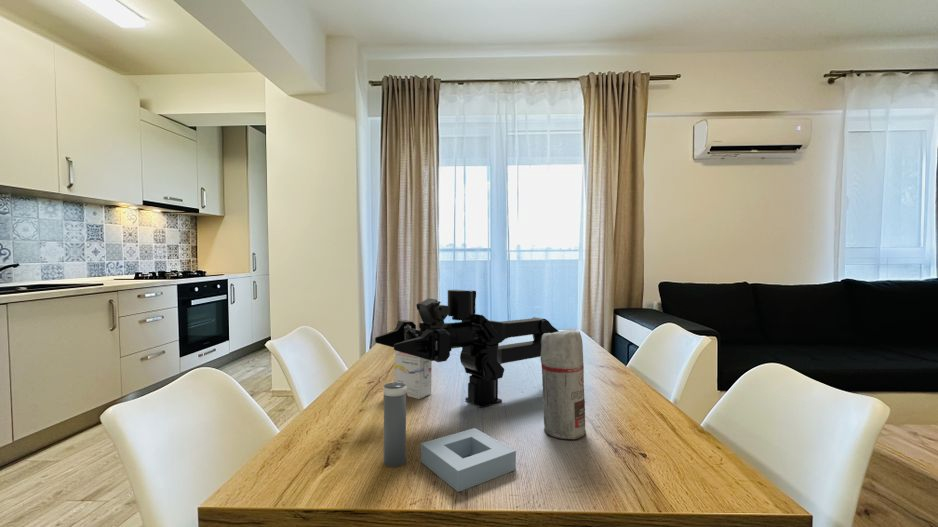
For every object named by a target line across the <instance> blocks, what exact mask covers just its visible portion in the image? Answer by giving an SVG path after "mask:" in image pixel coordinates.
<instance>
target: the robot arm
mask: <svg viewBox="0 0 938 527" xmlns="http://www.w3.org/2000/svg"><path fill="white" fill-rule="evenodd" d="M476 298H477V291H476V290H467V289H466V290H464V289H463V290H462V289H448V290H447V305H446V304H445V305H444V304H442V303H441V301H439V300H438V299H436V298H430V297H429V298H427V299H424V300H423V301H420V302H418V303H416V310H418V313H419V316H420V319H421V322H418V327H419V329H417V325H416V324H415V322H414V321H411V320H407V319H404V320H398V321H397V324H396V326H395V328H394V329H393V330H391V331H387V332H386V333H384V334H381V335H378V336H376V337H374V342H375V343H376V344H379V345H382V346H386V347H391V348H393V351H395V350H396V351H399V352H403V353H406V354H410V355H413V356H417V357H420V358H424V359H427V360H430V361H431V362H436V363H442V362H447V361H448V359H449V357H450V356H451V352H452V350H453V349H460V348H461V351H460V355H459V358H460V361H459V362H460V363H461V366H463V369H464V371H465V374H469V378H468V379H469V382H468V383H467V397H465V399H464V400H465V401H467V402H469V403H471V404H473V405H475V406H477V407H479V408H484V407H488V406H492V405H496V404H499V403H501V404H502V403H503V399H501V398H499V387H498V385H499V380H500V379H502V378H503V376H504V372H505V368H504V367H503V366H502V364H508V363H514V362H518V361H524V360H529V359H535V358H540V357H541V343H542V336H543V334H544V333H554V332H558V331H559V330H558V329H557V328H556V327H554V326H553V325H552V323H551V322H550V321H549V320H548V319H546V318H543V317H542V318H541V317H535V316H534V317H532V318H524V319H523V318H522V319H513V320H512V319H511V320H503V321H498V320H497V321H496V320H491V319H490V320H489V319H487V318H486V317H485V316H484V315H483V314H479V313H478V314H477V313H476ZM447 317H451V320H453V321H455V322H445V320H446V319H447ZM456 321H457V322H456ZM531 335H532V339H533V340H530V341H523V342H516V343H509V344H502V345H499V344H500V343H502V342H504V340H506V339H510V338H515V337H516V338H517V337H524V336H525V337H526V336H531Z"/></svg>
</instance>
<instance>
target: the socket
mask: <svg viewBox="0 0 938 527" xmlns="http://www.w3.org/2000/svg"><path fill="white" fill-rule="evenodd" d="M420 463H422V464H423V465H424V466H426V467H427V468H428V469H429V470H431V471H432V472H433V473H434V474H435V475H437V476H438V477H439V478H440V479H441V480H443V481H444V482H445V483H446V484H448V486H450V487H451V488H453V489H454V490H455V492H457V493H460V492H463V491H465V490H467V489H471V488H472V487H474V486H477V485H480V484H483V483H486V482H488V481H491V480H492V479H493V480H494V479H495V478H499V477H500V476H503V475H506V474H508V473H512V472H513V471H516V469H517V467H516V466H517V451H516V449H514V448H512V447H510V446H508V445H506V444H505V443H503V442H501V441H499V440H497V439H496V438H494V437H492V436H489V435H488V434H486V433H484V431H483V432H482V431H480V430H479V429H477V428H475V427H473V428H470V429H466V430H464V431H460V432H455V433H453V434H448V435H446V436H442V437H439V438H434V439H431V440H426V441H424V442H421V443H420ZM459 491H460V492H459Z"/></svg>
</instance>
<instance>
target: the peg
mask: <svg viewBox="0 0 938 527" xmlns="http://www.w3.org/2000/svg"><path fill="white" fill-rule="evenodd" d="M406 429H407V396H406V384H405V383H401V382H395V381H394V382H393V381H392V382H388V383H385V384H384V385H383V465H384V466H386V467H390V468H398V467H400V466H403V465H404V464H406V461H407V458H406V457H407V437H406V436H407V430H406Z"/></svg>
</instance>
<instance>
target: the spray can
mask: <svg viewBox="0 0 938 527" xmlns="http://www.w3.org/2000/svg"><path fill="white" fill-rule="evenodd" d="M583 344H584V343H583V337H582V335H581V331H578V330H577V329H575V328H567V329H565V330H558V332H554V333H544V334H543V336H542V343H541V357H539V358H540V364H541V376H542V377H541V379H542V381H541V383H542V399H543V400H542V404H543V425H544V427H543V428H544V429H543V430H544V433H545V434H547V435H548V436H551V437H553V438H557V439H563V440H577V439H580V438H582V437H584V435H585V434H586V433H587V431H586V407H585V406H586V404H585V403H586V401H585V400H586V399H585V383H584V382H585V379H584V376H585V375H584V374H585V370H584V369H585V368H584V367H585V366H584V364H585V363H584V351H583V349H584V348H583V347H584V346H583Z"/></svg>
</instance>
